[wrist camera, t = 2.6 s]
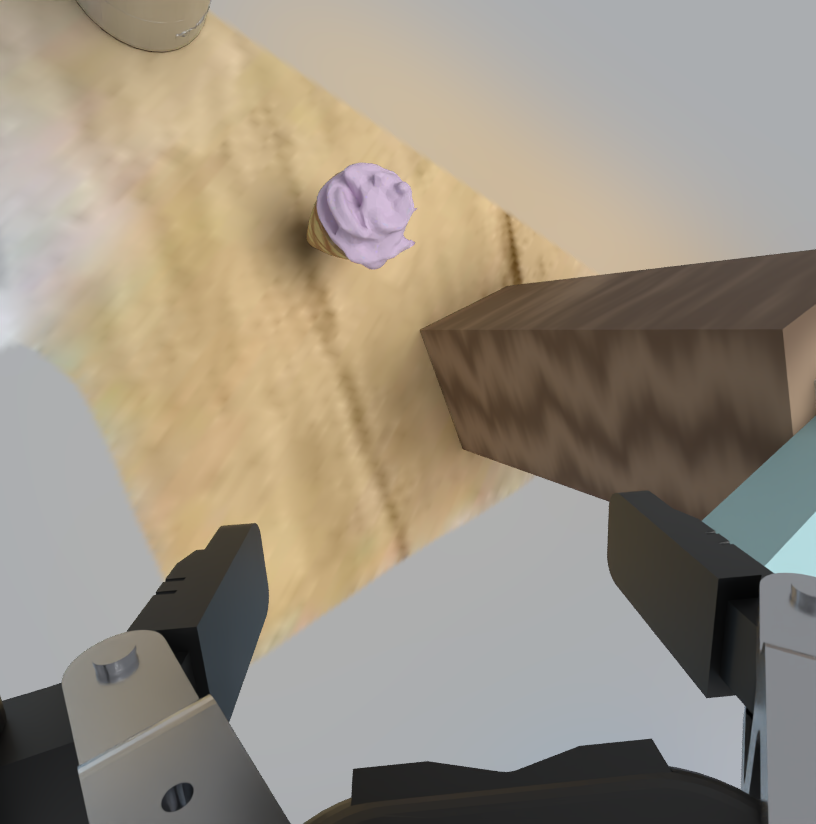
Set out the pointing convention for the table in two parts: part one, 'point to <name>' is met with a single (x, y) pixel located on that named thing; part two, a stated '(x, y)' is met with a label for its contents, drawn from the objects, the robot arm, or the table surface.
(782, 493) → the peg
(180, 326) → the table surface
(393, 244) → the ice cream cone
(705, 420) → the plinth
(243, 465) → the table surface
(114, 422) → the table surface
